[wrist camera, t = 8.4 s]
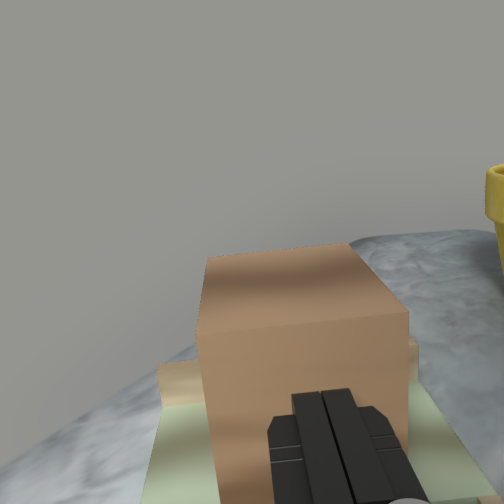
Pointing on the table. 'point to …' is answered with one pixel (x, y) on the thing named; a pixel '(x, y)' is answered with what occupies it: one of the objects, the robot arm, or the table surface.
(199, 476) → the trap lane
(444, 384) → the table surface
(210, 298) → the walnut block
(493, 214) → the plant pot
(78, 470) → the table surface
